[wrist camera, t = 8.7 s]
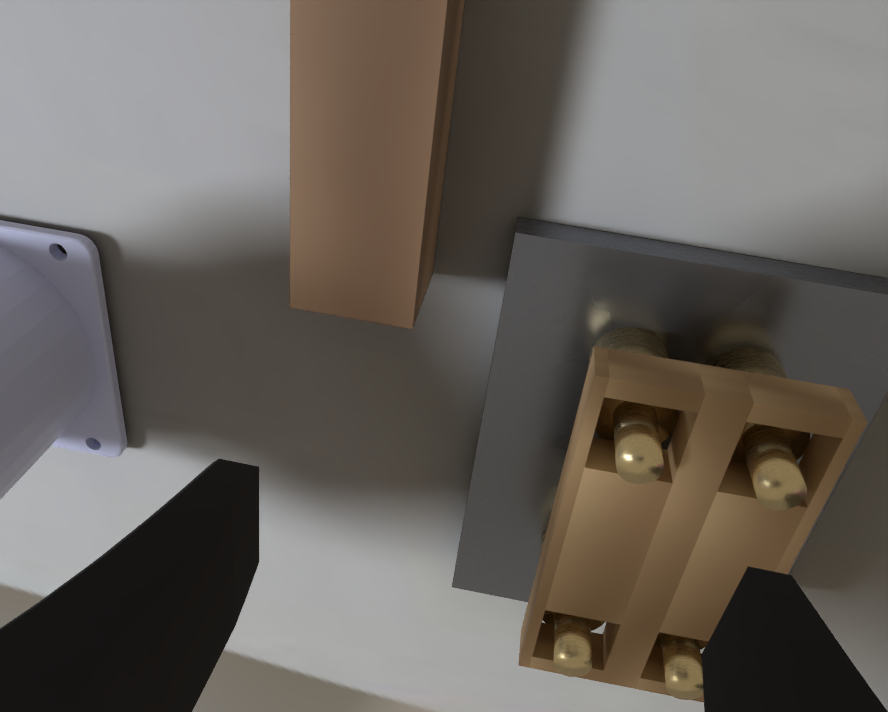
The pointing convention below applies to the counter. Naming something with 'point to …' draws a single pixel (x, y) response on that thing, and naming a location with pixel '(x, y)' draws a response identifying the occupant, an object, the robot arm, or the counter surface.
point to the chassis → (640, 425)
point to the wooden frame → (675, 510)
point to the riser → (368, 152)
